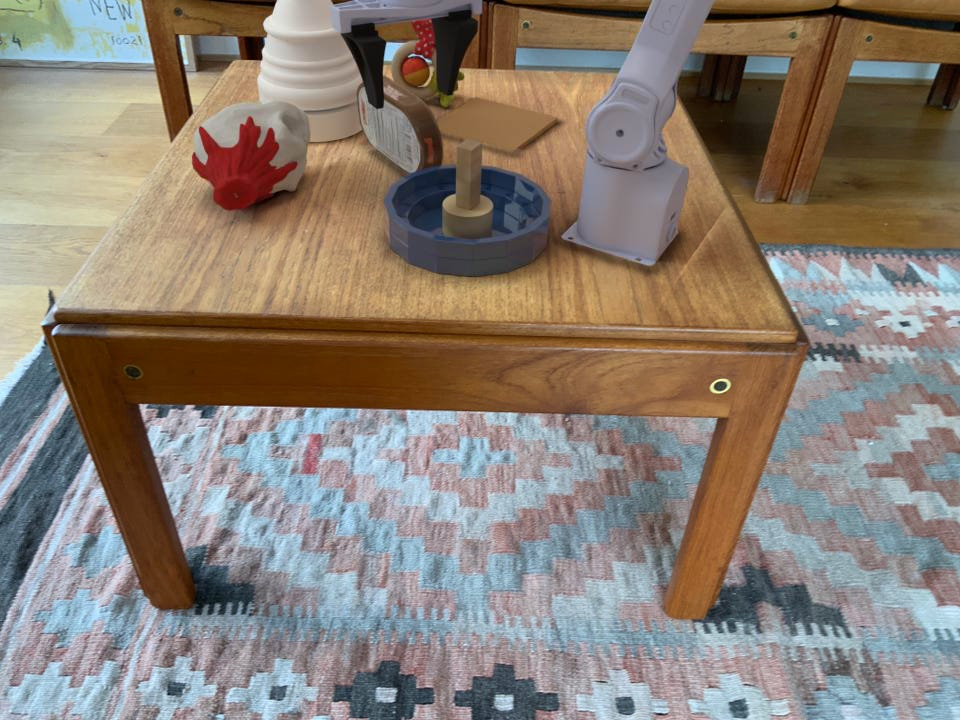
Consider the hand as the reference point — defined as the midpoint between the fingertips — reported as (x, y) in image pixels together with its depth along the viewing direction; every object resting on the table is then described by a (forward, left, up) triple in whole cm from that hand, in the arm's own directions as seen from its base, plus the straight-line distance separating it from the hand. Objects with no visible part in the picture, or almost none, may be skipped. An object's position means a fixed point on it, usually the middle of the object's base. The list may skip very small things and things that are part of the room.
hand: (411, 98), depth 77 cm
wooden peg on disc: (-9, +5, -10) cm, 14 cm away
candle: (+13, +10, -10) cm, 19 cm away
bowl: (-9, +5, -10) cm, 15 cm away
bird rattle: (+13, -22, -10) cm, 28 cm away
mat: (+2, -20, -10) cm, 23 cm away
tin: (+6, -5, -10) cm, 13 cm away
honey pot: (+21, -9, -10) cm, 25 cm away
